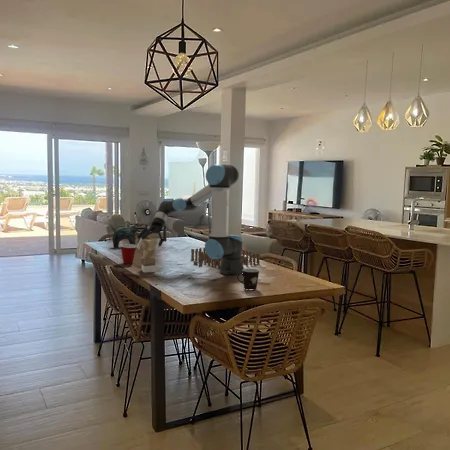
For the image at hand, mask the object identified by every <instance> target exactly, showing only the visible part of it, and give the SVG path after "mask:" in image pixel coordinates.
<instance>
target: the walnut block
mask: <svg viewBox="0 0 450 450" xmlns="http://www.w3.org/2000/svg"><path fill="white" fill-rule="evenodd" d="M140 265H141V266H142V265H143V266H153V265H155V266H156V257H155V258H153V259H143V257H140Z"/></svg>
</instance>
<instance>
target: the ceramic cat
mask: <svg viewBox="0 0 450 450" xmlns="http://www.w3.org/2000/svg"><path fill="white" fill-rule="evenodd" d="M126 223H127V221H125V222H124V224H126ZM137 232H138V228H137V226H136V225H135V223H133V224H132V225H131V224H130V223H128V224H127V226H122V225H119V226H118V227H116V228H115V229H114V233H113V234H112V245H113V248H114V249H119V246H120V242H121V241H123V240H126V239H127V241H128V242H129V244H133V245H136V233H137Z"/></svg>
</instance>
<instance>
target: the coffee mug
mask: <svg viewBox="0 0 450 450" xmlns="http://www.w3.org/2000/svg"><path fill="white" fill-rule="evenodd" d="M259 273H260V270H259V269H258V268H257V269H256V268H252V267H251V268H244V269H243V274H242V273H240V274H238V275H237V277H236V279H237V281H238V282H240V283H241V284H243V289H244V288H245V289H256V290H257V286H258V282H259V281H258V279H259ZM240 275H241V276H242V279H243V281H241V280H240V279H239V276H240ZM245 289H244V290H245Z"/></svg>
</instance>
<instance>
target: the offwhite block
mask: <svg viewBox="0 0 450 450" xmlns="http://www.w3.org/2000/svg"><path fill="white" fill-rule="evenodd" d="M141 271H142V272H143V273H156V264H155V265H153V266H143V265H141Z"/></svg>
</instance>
